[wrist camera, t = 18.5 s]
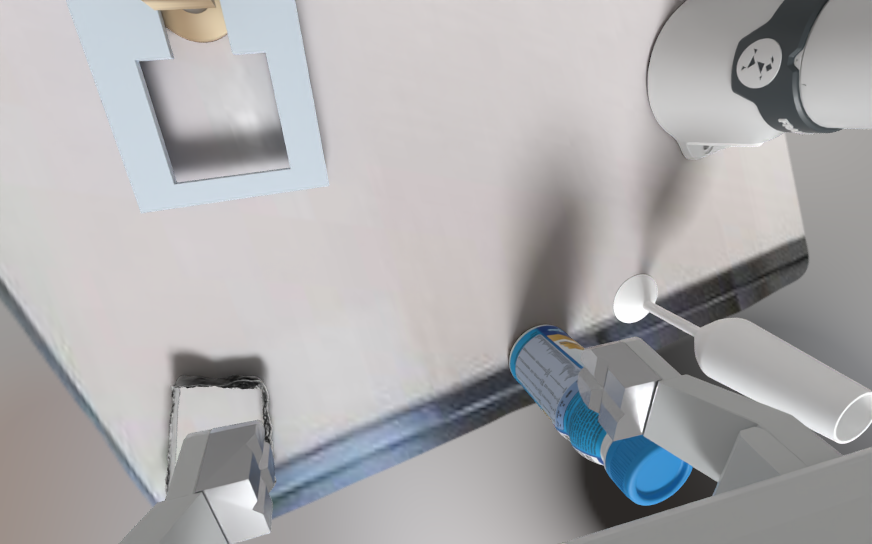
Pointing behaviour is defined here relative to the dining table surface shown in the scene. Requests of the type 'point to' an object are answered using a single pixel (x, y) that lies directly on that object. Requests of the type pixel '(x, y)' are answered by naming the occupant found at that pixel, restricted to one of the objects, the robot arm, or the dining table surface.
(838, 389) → the champagne flute
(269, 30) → the keyhole plate
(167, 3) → the beech peg
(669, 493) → the beverage bottle
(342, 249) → the dining table surface
